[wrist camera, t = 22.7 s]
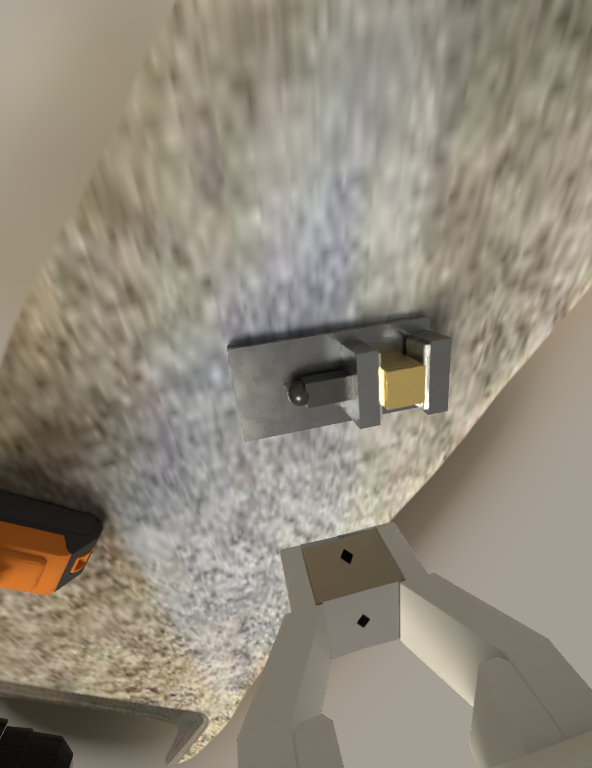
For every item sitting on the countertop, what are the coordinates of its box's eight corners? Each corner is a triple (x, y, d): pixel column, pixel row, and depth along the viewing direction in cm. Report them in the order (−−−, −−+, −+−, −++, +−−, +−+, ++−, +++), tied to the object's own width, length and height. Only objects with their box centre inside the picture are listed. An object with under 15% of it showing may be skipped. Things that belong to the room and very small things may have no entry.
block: (365, 357, 42) (386, 372, 36) (399, 351, 42) (425, 365, 37) (366, 391, 43) (387, 410, 38) (399, 384, 44) (424, 402, 39)
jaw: (279, 354, 39) (287, 366, 35) (364, 340, 41) (382, 350, 36) (289, 422, 43) (297, 441, 38) (367, 407, 44) (384, 424, 40)
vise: (227, 346, 40) (227, 362, 34) (423, 315, 43) (456, 323, 37) (244, 436, 44) (247, 463, 38) (422, 400, 47) (450, 421, 41)
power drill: (155, 529, 46) (86, 799, 23) (134, 569, 48) (49, 860, 24) (-30, 479, 39) (-399, 796, 16) (-48, 528, 40) (-408, 882, 17)
